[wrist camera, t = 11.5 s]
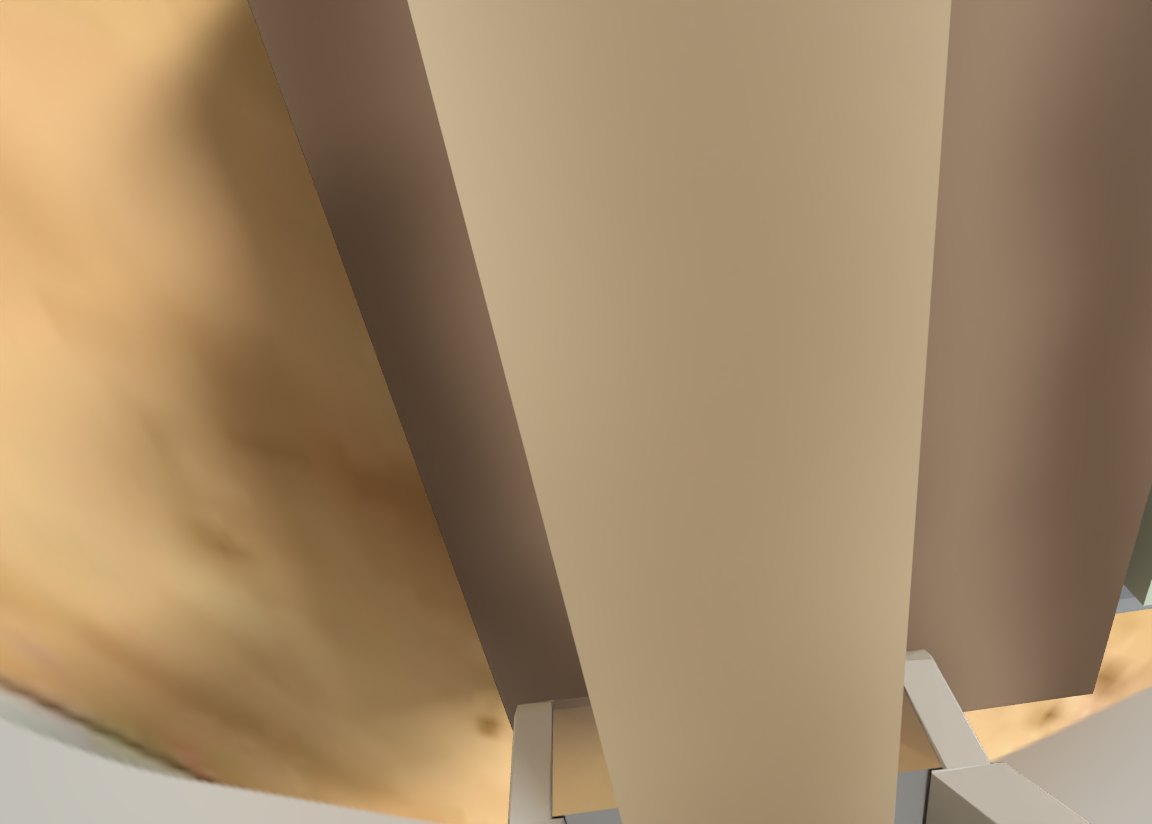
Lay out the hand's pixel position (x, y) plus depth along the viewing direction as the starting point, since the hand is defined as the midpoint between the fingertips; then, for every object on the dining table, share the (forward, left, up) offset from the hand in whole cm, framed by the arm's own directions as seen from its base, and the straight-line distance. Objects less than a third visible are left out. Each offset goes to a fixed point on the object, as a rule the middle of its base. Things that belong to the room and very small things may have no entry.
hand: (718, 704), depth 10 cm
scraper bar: (0, 0, -1) cm, 1 cm away
